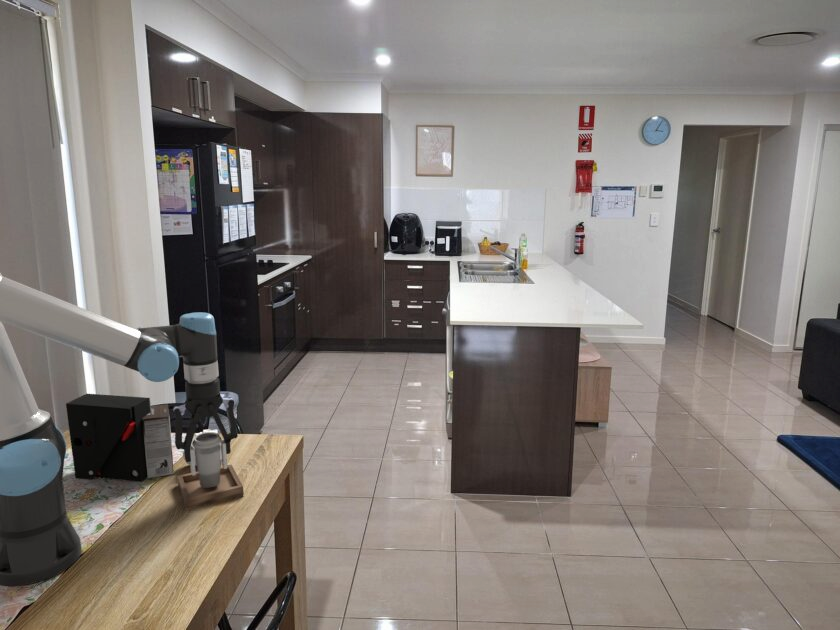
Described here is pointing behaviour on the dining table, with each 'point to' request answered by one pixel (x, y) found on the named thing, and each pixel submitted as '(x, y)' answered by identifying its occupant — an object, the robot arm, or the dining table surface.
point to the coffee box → (158, 441)
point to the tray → (203, 496)
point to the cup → (208, 458)
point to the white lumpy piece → (194, 447)
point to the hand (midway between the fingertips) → (209, 469)
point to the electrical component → (108, 436)
